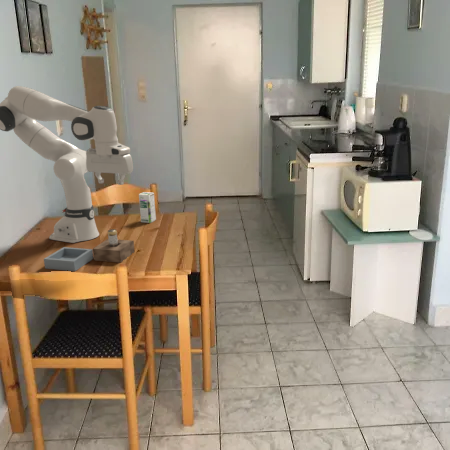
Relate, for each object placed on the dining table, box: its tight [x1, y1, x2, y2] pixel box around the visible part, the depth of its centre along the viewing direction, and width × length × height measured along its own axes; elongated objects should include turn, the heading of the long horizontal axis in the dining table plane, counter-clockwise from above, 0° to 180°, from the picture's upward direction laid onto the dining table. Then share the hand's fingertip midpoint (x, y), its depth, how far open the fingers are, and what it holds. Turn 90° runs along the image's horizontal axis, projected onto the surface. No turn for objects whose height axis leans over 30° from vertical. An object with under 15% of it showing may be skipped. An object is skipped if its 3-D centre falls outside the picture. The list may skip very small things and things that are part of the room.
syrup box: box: [138, 191, 157, 224], centre depth 245 cm, size 6×6×14 cm
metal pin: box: [107, 228, 119, 247], centre depth 200 cm, size 4×4×11 cm
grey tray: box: [43, 246, 94, 272], centre depth 195 cm, size 13×13×4 cm
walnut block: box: [92, 238, 135, 263], centre depth 201 cm, size 12×12×5 cm
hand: (111, 183), depth 195 cm, fingers open, 8 cm apart
